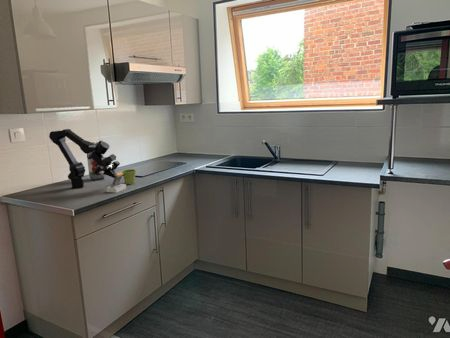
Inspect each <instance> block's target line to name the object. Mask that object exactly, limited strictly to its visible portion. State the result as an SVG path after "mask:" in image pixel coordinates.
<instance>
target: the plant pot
mask: <svg viewBox="0 0 450 338" xmlns="http://www.w3.org/2000/svg"><path fill="white" fill-rule="evenodd" d="M121 172H122V173H123V175H122V178H123V180H124V184H126V185H134V184H135V183H136V172H137V170H136V169H124V170H121Z"/></svg>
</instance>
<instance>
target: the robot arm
mask: <svg viewBox="0 0 450 338" xmlns="http://www.w3.org/2000/svg"><path fill="white" fill-rule="evenodd" d="M48 137H49V139H50V141H51V142H52V143H54V144H55V145H57V147H58V148H59V150H60V151H61V153H62V155H63V156H64V158H65V160H66V163H67V164H68V166H69V167H68V168H69V173H68V175H67V179H68V180H70V181H71V190H72V189H73V190H75V189H81V188H84V186H85V185H84V179H83V178H84V177H85V174H86V167H85V166H84V164H83V163H82V162H81V161H80V162H78V161H77V159H76V157H75V156H74V155H73V152H72V151H71V149H70V148H69V146H68V144H67V142H66V138H68V140H70V141H71V142H73V143H74V144H75V145H77V146H78V147H79V149H80V150H81V151H82V152H83V153H84V154H86V155H87V154H88V153H92V154H91V155H89V160H90V159H93V160H94V161H95V162H96V163H97V164H96V165H97V166H98V165H99V166H98V167H97V168H96V170H95V171H94V174H95V175H96V176H97V175H100V173H99V172H101V171H104V173H103V174H105V176H108V177H110V178H113V179H114V178H115V175H116V174H117V173H116V169H118V167H119V166H120V164H121V163H120V162H119V161H118V160H116V159H117V156H116V155H115V154H114V153H112V154H109V156H104V155H105V154H106V153H107V151H108V150H109V149H110V147H111V146H110V144H109V143H107V142H106V141H103V140H99V141H98V142H99V143H98V144H97V145H95V144H93V143H92V141H89V140H86V139H83V137H81V136H79V135H78V134H77V133H75V132H74V131H72V129H70V128H66V129H63V130H51V131H50V132H49V134H48ZM101 154H103V156H102V155H101Z"/></svg>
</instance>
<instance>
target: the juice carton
mask: <svg viewBox="0 0 450 338" xmlns="http://www.w3.org/2000/svg"><path fill="white" fill-rule="evenodd" d="M91 143H93V144H95V145H97V144H98V143H99V141H96V140H92V141H91ZM91 154H92V153H88V154H86V158H87V168H88V176H89V178H90V180H91V181H102V180H104V179H105V176H106V175H105V174H103V173H104V171H101V172H99V173H100V175H97V176H96V175H95V174H94V171H95V170H96V168H97V167H98V166H99V165H98V166H97V165H96V164H97V163H96V162H95V161H94V160H93V159H90V160H89V155H91ZM101 155H102V156H103V157H104V154H101Z"/></svg>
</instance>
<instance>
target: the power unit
mask: <svg viewBox="0 0 450 338" xmlns="http://www.w3.org/2000/svg"><path fill="white" fill-rule="evenodd" d="M109 185H110V186H107V187H106V192H107V193H118V192H120V191H121V192H122V191H123V190H126V189H127V184H125V183H121V182H120V183H119V184H118V185H115V186H113V184H109Z"/></svg>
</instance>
